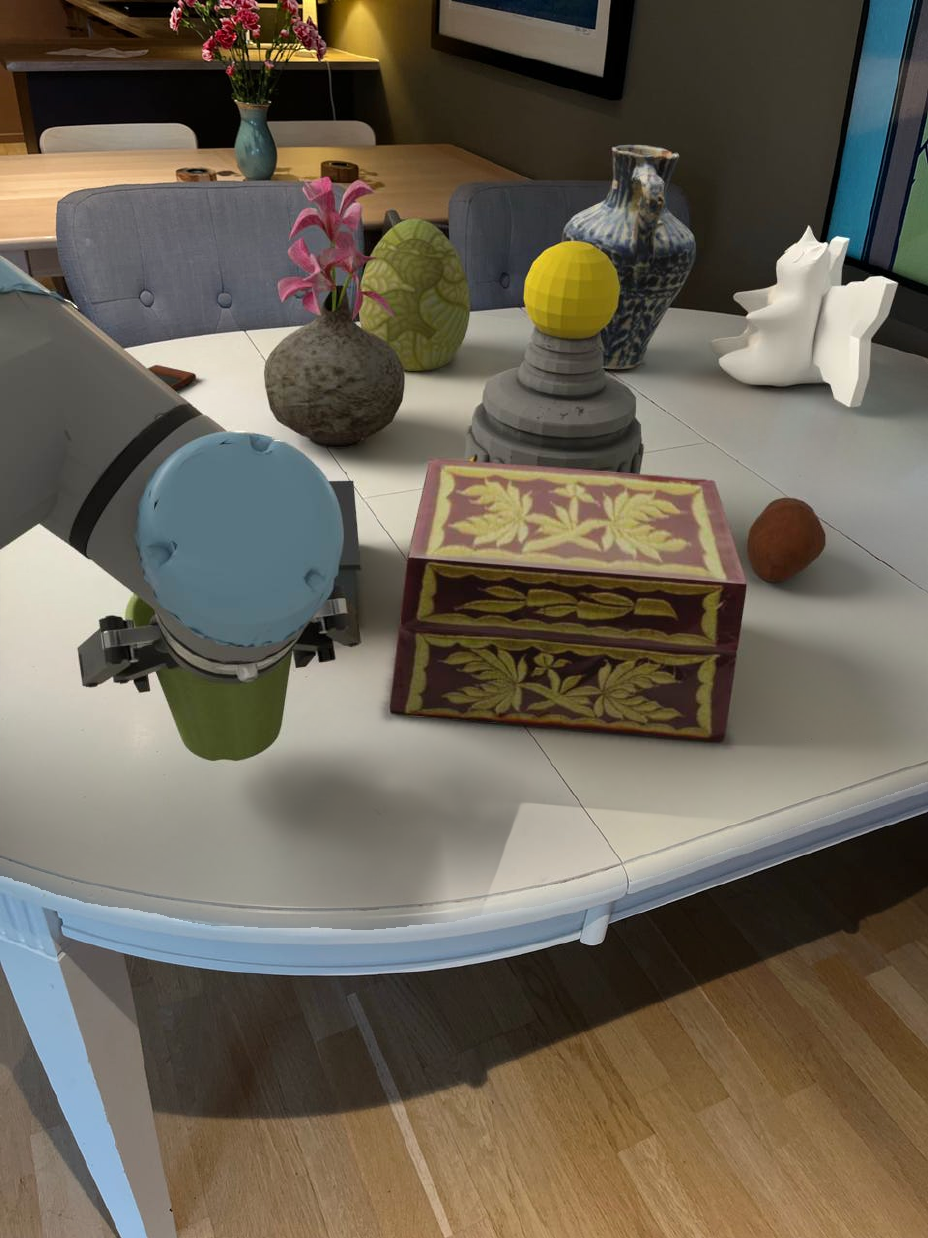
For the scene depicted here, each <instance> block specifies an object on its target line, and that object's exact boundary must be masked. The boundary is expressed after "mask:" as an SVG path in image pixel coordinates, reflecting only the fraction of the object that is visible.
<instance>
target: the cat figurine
mask: <svg viewBox="0 0 928 1238" xmlns="http://www.w3.org/2000/svg"><path fill="white" fill-rule="evenodd" d="M849 242H850V238H849V237H843V236H837V235H836V236H835V237H833V238H831V241H830V243H828V242H827V241H826V242H819V241H818V240H817V239H816V237H815V236H814V233H813V229H812V228H811V226H810V225H807V228H806V230H805V231H804V234H803V235H802V237H801V238H800V239H799V241H797V242H795V243H794V244H792V245H791V246H790V247H788V248H787V249H786V250H785V251H784V253H783V255H782V256H781V257H779V259H778V260H777V261H776V266H775V270H776V272H775V273H776V279H777V280H776V281H777V282H776V284H774V285H771V286H769V287H765V288H760V289H753V290H747V291H739V292H736V293H734V295H733V300H734V301H735V302H736V303H738V304H739V305H740V306H741V307H742V308H743V309H744V310H745V311H746V312H747V315H746V316H745V320H746V321H747V322H748V324H747V327H746V329H745V330H744V331H743V333H741V334H740V335H739V336H731V337H729V336H727V337H721V338H717V339H713V340H710V341H709V347H710V348H711V349H712V351H713V352H714V353H715V355H717V356H718V357H720V358H718V364H719V366H720V368H722V370H723V371H724V372H726V374H728V375H729V376H730V377H732V378H733V379H735V380H736V381H739V382H741V383H743V384H746V385H753V386H754V385H755V386H773V387H788V386H793V385H800V384H829V385H830V388H831V392H832V394H833V395H832V396H833V399H834V400H836V401H837V402H839V403H841V404H843V405H844V406H846V407H847V408H855V407H861V405H862V403H863V398H864V397H865V396H864V395H865V392H866V389H867V386H868V383H869V380H870V369H871V349H872V338H874V336H875V334H876V333H877V331H878V330H879V329H880V328H881V326H882V325H883V324H884V322H885V321H886V319H887V318H888V316H889V314H890V311H891V308H892V305H893V301H894V298H895V294H896V291H897V288H898V286H899V282H897V281H894V280H892V279H890V278H887V277H885V276H883V275H878V276H877V275H876V276H869V277H868V278H866V279H865V280H864V281H851V282H849V283H848V284H846V285H844V284H843V285H842V275H843V274H842V273H843V265H844V261H845V258H846V254H847V251H848V247H849Z"/></svg>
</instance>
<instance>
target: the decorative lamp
mask: <svg viewBox="0 0 928 1238" xmlns="http://www.w3.org/2000/svg"><path fill="white" fill-rule="evenodd" d="M523 289H524V290H523V303H524V306H525V309H526V314H527V316H528V317H529V319H530V320H531V322H532V323H533V324H534V328H533V330H532V333H531V337H530V341H531V342H529V343H528V344H527V347H526V350H525V353H524V355H523V358H524V360H523V361H522V362H521V363H520V366H517V367H512V368H510V369H507V370H504V371H501V372H498V373H496V374H495V375H493V376H492V377H491V378H490V379H488V380H487V381H486V382H485V385H484V388H483V392H482V399H481V403H479V404H478V405H477V406H475V408H474V411H473V415H472V418H471V425H468V427H467V430H466V439H465V458H464V459H465V460H464V461H476V462H489V463H502V464H515V465H528V466H541V467H554V468H567V469H581V470H594V471H607V472H620V473H633V474H641V471H642V470H641V469H642V462H643V458H644V457H643V456H644V451H645V446H644V443H642V442H643V437H642V424H641V422H640V421H639V420H638V419H637V417H636V415H637V396H636V395H635V394H634V392H632V390H631V389H630V387H628V386H627V385H626V384H624V383H623V382H620V381H619V380H618V379H616V378H615V377H612V376H610V375H608V374H606V370H605V368H602V366H603V364H604V359H603V351H602V350H601V349H600V348H599V347H600V346H601V335H600V331H601V330H602V329H603V328H604V327H605V326H606V325H607V324H608V323H609V322H610V321H611V319H612V317H613V315H614V313H615V311H616V309H617V306H618V299H619V292H620V285H619V280H618V275H617V271H616V269H615V267H614V265H613V264H612V262H611V261H610V259H609V258H608V256H607V255H606V254H605V253H603V252H602V251H600V250H599V249H597V248H596V247H595V246H593V245H591V244H589V243H585V242H579V241H566V242H562V241H561V242H560V243H557V244H555V245H553V246H550V247H548V248H547V249H545V250H544V251H542V253H541V254H540V255H539V256H537V258H536V259H535V260H534V261H533V262H532V264H531V266H530V269H529V271H528V273H527V275H526V277H525V280H524V288H523Z"/></svg>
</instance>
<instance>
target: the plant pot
mask: <svg viewBox="0 0 928 1238" xmlns="http://www.w3.org/2000/svg"><path fill="white" fill-rule="evenodd" d="M124 611H125V612H124V620H125V619H133V622H134V628H135V627H142V626H149V625H150V620H151V618H152V617H153V616H154V615H155V614H156V612H155V609H153V608H152V607H151V606H150V605H148V604H147V603H146V602H144V601H143V600H142V599H141V598H139V597H138V596H137V595H135V594H134V593H133V594H132V596H130V599H129V600H128V602H127V605H126V608H125V610H124ZM292 657H293V649H292V651H290V653H289V654H288V656H287V657H286V658H285V659H284V661H283V662H282V663H281V664H280V665H279V666H278V667H276V668H275V669H274V670H273V671H271V672H270V673H268V674H266V675H265V676H263V677H261V678H259V679H256V680H254V681H251V682H246V683H241V684H218V683H213V682H209V681H206V680H203V679H200V678H198V677H196V676H194V675H193V674H191V673H189V672H188V671H186V670H185V669H184V668H181V669H168V668H167V667H166V668H164V669H161V670H158V671H156V672H155V674H156V677H157V679H158V682H159V684H160V687H161V690H162V692H163V694H164V698H165V700H166V702H167V705H168V708H169V711H170V713H171V717H172V718H173V721H174V723H175V726H176V729H177V731H178V734H179V736H180V739H181V741H182V743H183V745H184V746H185V747H186V749H187V750H188V751H190V753H192V754H193V755H195V756H196V757H199V758H201V759H203V760H207V761H211V762H217V761H223V760H224V761H232V762H233V761H234V762H239V761H245V760H247V759H250V758H253V757H256V756H257V755H259V754H261V753H263V752H265V751H266V750H267V749H268V748H270V747H271V746H272V745H273V744H274V743H275V742H276V740H277V739H278V738H279V735H280V732H281V729H282V724H283V720H284V711H285V705H286V698H287V691H288V685H289V684H288V683H289V677H290V676H289V675H290V670H291V663H292Z"/></svg>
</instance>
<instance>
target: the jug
mask: <svg viewBox="0 0 928 1238" xmlns="http://www.w3.org/2000/svg"><path fill="white" fill-rule="evenodd" d="M611 151H612V152H611V155H612V159H611V160H612V173H613V174H612V181H611V185H610V189H609V191H608V193H607V196H606V198H605V199H604V200H602V201H601V202H598V203H596V204H594V205H592V206H590V207H588V208H587V209H583V210H581V211H579V212H578V213H577V214H575V215H573V217H572V216H571V218H570V219H569V221H568V222H567V223H566V224H565V226H564V228H563V231H562V234H561V239H562V240H561V243H562V242H566V241H579V242H585V243H589V244H591V245H593V246H595V247H596V248H597V249H599V250H600V251H602V252H603V253H605V254H606V255H607V256H608V258H609V259H610V261H611V262H612V264H613V265H614V267H615V269H616V271H617V275H618V280H619V285H620V292H619V299H618V306H617V309H616V311H615V313H614V315H613V317H612V319H611V321H610V322H609V323H608V324H607V325H606V326H605V327H604V328H603V329H602V330H601V331H600V335H601V346H600V347H599V348H600V349H601V350H602V351H603V359H604V364H603V366H602V368H603V369H609V370H626V369H632V368H634V367H636V366H637V365H639V364H641V363H642V362H643V360H644V356H645V354H646V351H647V348H648V345H649V342H650V341H651V339H652V337H653V336H654V334H655V333H656V330H657V328H658V327H659V326H660V323H661V322H662V320H663V318H664V316H665V314H666V313H667V312H668V310H669V308H670V306H671V304H672V302H673V301H674V300H675V298H676V297H677V296H678V294H679V293H680V291H681V289H682V288H683V287H684V284H685V283H686V281H687V279H688V277H689V275H690V272H691V270H692V268H693V265H694V263H695V260H696V254H697V244H696V240H695V235H694V234H693V233H692V231H691V230H690V229H689V228H688V227H687V225H685V224H684V223H682V221H680V220H679V219H677V217H675V216H674V215H673V214H672V213H671V212H670V210H668V207H667V204H666V203H667V202H666V193H667V188H668V184H669V183H670V179H671V177H672V174H673V172H674V170H675V167H676V164H677V162H678V161H679V159H680V155H679V153H678V152H676V151H675V152H674V153H673V152H672V151H671V150H670V151H669V150H668V149H665V148H663V147H661V146H653V145H646V144H622V145H621V144H620V145H617V146H613V147H611Z"/></svg>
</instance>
